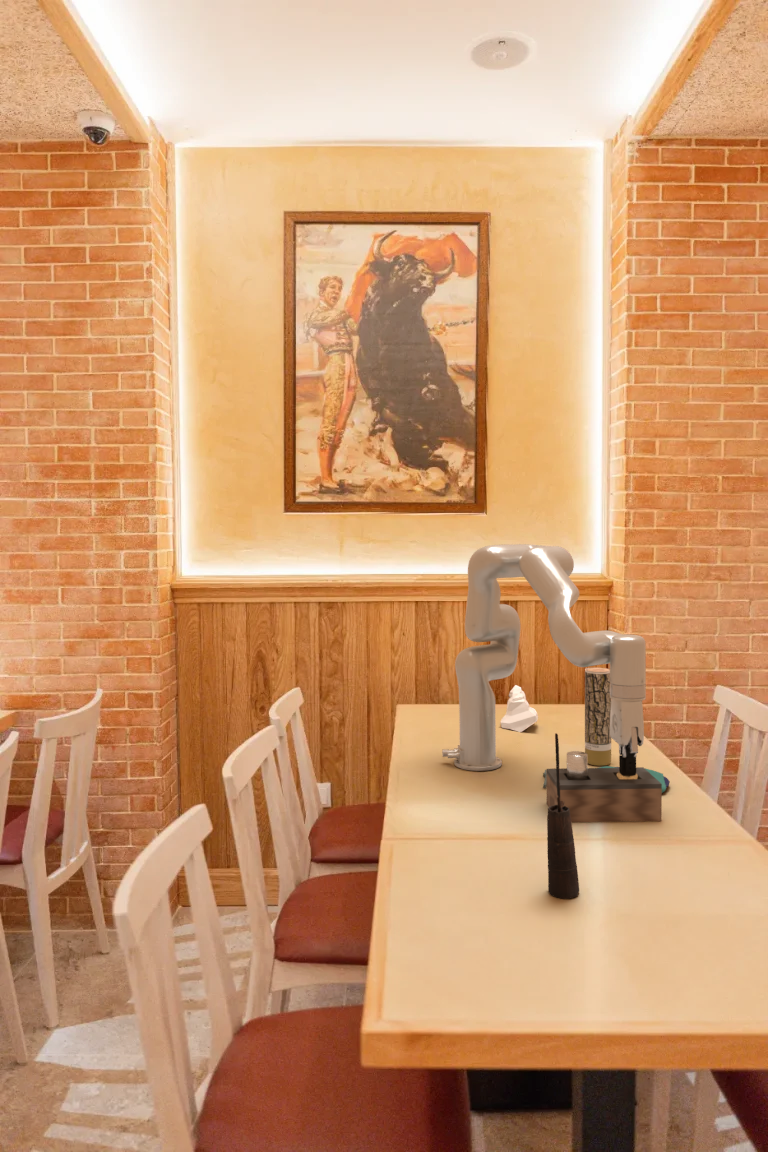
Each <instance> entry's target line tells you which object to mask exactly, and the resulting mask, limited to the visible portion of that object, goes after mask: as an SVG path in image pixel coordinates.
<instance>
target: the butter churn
mask: <svg viewBox="0 0 768 1152" xmlns="http://www.w3.org/2000/svg"><path fill="white" fill-rule="evenodd" d="M554 741H555V743H554V744H555V745H554V746H555V769H556V772H557V773H556V776H557V795H558V797H557V803H558V805H554V806H550V807H549V806H548V807H547V815H546V816H547V819H546V820H547V821H546V822H547V824H546V825H547V826H546V828H547V829H546V831H547V832H546V833H547V837H546V838H547V840H546V841H547V845H546V846H547V850H546V851H547V853H546V854H547V873H548V874H547V876H548V877H547V879H548V880H547V881H548V882H547V883H548V885H547V886H548V887H547V889H548V891H547V892H548V894H549V895H550V896H551V897H554V898H556V899H558V898H559V899H563V900H569V899H573V898H577V897H578V896H579V893H580V882H579V874H578V873H579V872H578V864H577V859H576V858H577V857H576V846H575V839H574V832H573V824H572V823H573V822H571V816H570V810H569V808H568V807H566V806H564V801H560V779H559V778H560V775H559V769H560V746H559V735H558V733H557V732H556V733H554ZM563 806H564V807H563Z"/></svg>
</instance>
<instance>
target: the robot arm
mask: <svg viewBox="0 0 768 1152" xmlns="http://www.w3.org/2000/svg"><path fill="white" fill-rule="evenodd" d="M574 566H575V564H574V558H573V556H572V554H571V553H570V552H569V551H568V550H567V549H566V548H564V547H562V546H559V545H541V544H540V545H539V544H526V543H525V544H524V543H523V544H521V543H519V544H518V543H517V544H516V543H515V544H513V543H512V544H491V545H487V546H482V547H480V548H477V550H475V551H474V552H473V554H472V555H471V556H470V558H469V561H468V565H467V582H468V589H467V590H468V591H467V597H466V608H465V618H464V633H465V636H466V638H467V639H469V640H470V641H472V642H475V643H488V642H490V644H481V645H475V646H474V645H473V646H469V647H466V648H464V649H462V650H460V651H459V653H458V654H457V655H456V657H455V660H454V661H455V662H454V669H455V675H456V679H457V685H458V701H459V702H458V704H459V705H458V708H459V709H458V710H459V711H458V712H459V744H458V745H457V747H454V748H453V749H450V748H449V749H448V748H446V749H445V748H444V749H442V750H441V751H442V752H441V753H442V757H444V758H445V757H447V759H453V765H454V766H456V767H457V768H459V769H461V770H465V771H473V772H474V771H477V772H484V771H492V770H496V769H499V768H501V767H502V762H503V761H502V759H501V758H499V757H498V756H497V755H496V753H497V752H496V750H497V749H496V747H497V745H496V744H497V743H496V740H497V739H496V737H497V736H496V733H497V731H496V728H497V727H496V726H497V725H496V696H495V693H494V691H493V688H492V687H491V684H490V682H491V681H495V680H500V679H505V678H507V677H509V676H511V675H512V674H513V673H514V672H515V670H516V667H517V663H518V655H519V654H518V653H519V646H520V645H519V644H520V638H521V637H520V636H521V628H522V627H521V619H520V617H519V613H518V612H517V610H516V609H515V608H514V607H513V606H512V605H509V604H505V603H504V604H503V603H501V596H502V593H501V588H500V583H499V581H498V579H504V578H506V579H508V578H509V579H510V578H511V579H513V578H525V580H526V582H527V583H528V584H529V585H530V587H531V588H532V590H533V591H534V592H535V594H536V595H537V596H538V597H539V599H540V600H541V602H542V604H543V605H544V606H545V607H546V609H547V611H548V615H547V616H548V617H547V621H548V627H549V628H548V629H549V633H550V635H551V638H552V640H553V642H554V644H555V645H556V646H557V648H558V649H559V651H560V652H561V653H562V655H563V656H564V657H565V658H566V659H567V660H568V661H569V662H570V663H571V664H572V665H573V666H576V667H579V668H590V667H593V666H599V665H600V666H601V665H608V664H609V669H610V698H611V711H610V737H611V740H613V741H614V742H615V743H617V744H618V753H619V757H618V758H619V759H618V760H619V761H618V763H619V765H618V767H619V772H620V773H621V774H622V775H623V776H626V775H636V767H637V754H638V753H639V747H642V746H643V745H644V742H645V741H644V740H645V738H644V735H645V727H644V726H645V724H644V708H643V707H644V706H643V701H645V700H646V698H647V695H646V694H647V691H646V689H647V688H646V686H647V685H646V683H647V680H646V679H647V677H646V676H647V675H646V673H647V672H646V669H647V668H646V667H647V664H646V658H647V657H646V653H647V648H646V647H647V646H646V643H647V642H646V640H645V638H644V637H643V636H641V635H639V634H638V635H636V634H629V633H627V634H626V633H624V634H623V633H619V632H617V631H611V630H607V629H606V630H598V631H588V632H583V631H582V629H580V627H579V626H578V624H577V623H576V621H575V620H574V618H573V616H572V614H571V607H573V606H574V605H575V604H576V602H577V601H578V599H579V597H580V590H579V588H578V587H577V586H576V584H575V583H574V582H573V580H572V579H571V578H570V576H571V575H572V573H573V571H574V568H575V567H574Z"/></svg>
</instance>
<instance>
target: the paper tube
mask: <svg viewBox="0 0 768 1152" xmlns="http://www.w3.org/2000/svg"><path fill="white" fill-rule="evenodd" d="M584 670H585V671H584V752H585V753H587V765H590V766H595V767H603V766H604V767H605V766H608V765H611V763H612V738H611V737H610V711H611V700H612V699H611V698H610V668H604V667H586V668H585V669H584Z"/></svg>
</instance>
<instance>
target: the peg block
mask: <svg viewBox="0 0 768 1152" xmlns="http://www.w3.org/2000/svg"><path fill="white" fill-rule="evenodd" d="M646 769H647V768H646ZM646 769H645V768H644V767H643V766H642V767H638V766H636V774H638V779H618V778H617V773H618V772H619V768H599V767H587V780H568V779H567V767H566V768H559V775H560V778H559V779H560V801H564V806H566V807H568V808H569V810H570V816H571V822H572V823H600V822H601V823H602V822H606V823H607V822H608V823H609V822H611V823H612V822H614V823H617V822H662V810H663V809H662V807H663V806H662V804H663V803H662V802H663V801H662V794H663V793H662V784H661V783H660V782H659V781H658V780H657V779H656V778H655V777H653V776H652V775H651V774H650V773H649V772H648V771H647V770H646ZM546 773H547V785H546V805H547V806H548V808H549V807H550V806H554V805H558V803H557V797H558V795H557V776H556V773H557V772H556V768H546ZM564 806H563V807H564Z"/></svg>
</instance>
